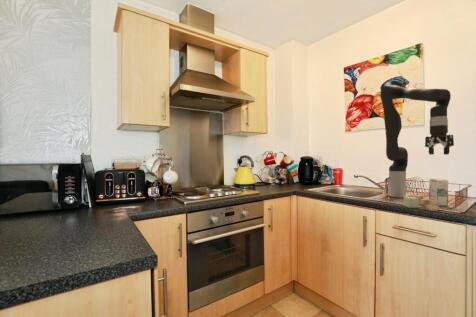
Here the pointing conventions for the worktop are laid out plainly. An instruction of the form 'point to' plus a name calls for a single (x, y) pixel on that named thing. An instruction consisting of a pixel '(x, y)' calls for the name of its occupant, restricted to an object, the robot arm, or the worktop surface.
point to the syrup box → (439, 191)
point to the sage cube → (411, 202)
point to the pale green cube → (417, 197)
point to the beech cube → (429, 204)
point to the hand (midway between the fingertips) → (438, 154)
